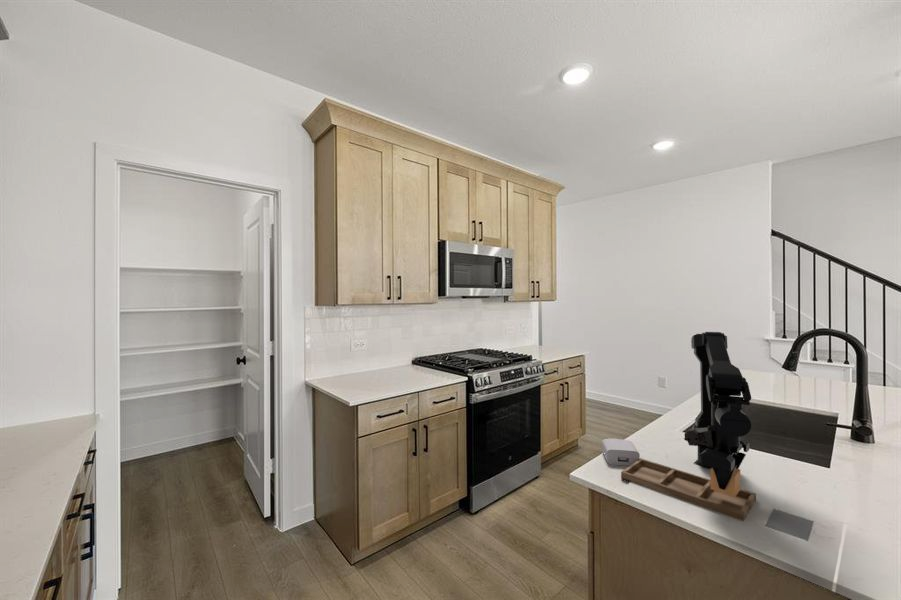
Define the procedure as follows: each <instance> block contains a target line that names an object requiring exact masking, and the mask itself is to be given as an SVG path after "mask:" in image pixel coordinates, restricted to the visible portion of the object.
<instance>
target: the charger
mask: <svg viewBox="0 0 901 600" xmlns="http://www.w3.org/2000/svg"><path fill="white" fill-rule="evenodd" d="M601 450H602V453H603V456H604V458H605V460H606V463H607V464H609V465H615V464H617V465H618V466H628V465H629V466H630V465H632V464H633V463H635V462H636V461H637V460H639V459H640V458H641V457H640V452H639V451H638V449H637V447H636V446H635V444H634V443H633V442H632V441H631V440H629V439H620V438H611V437H610V438H605V439H602V440H601ZM604 453H605V454H604ZM629 466H628V467H629Z"/></svg>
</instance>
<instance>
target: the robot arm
mask: <svg viewBox="0 0 901 600" xmlns="http://www.w3.org/2000/svg"><path fill="white" fill-rule="evenodd" d="M690 341H691V342H690V343H691V344H690V345H691V349H693V354H694V356H695V358H696V359H697V360H698V362H699V365H700V366H699V367H700V368H699V370H700V371H699V373H700V412H699V413H698V414H697V416H696V417H695V419H694V424H692V425H693V426H692V428H689V429H687V430H686V431H684V437H683V439H684V441H686V442H687V443H688V446H693V447H694V446H695V447H697V459H696V460H695V461H694V462H693V465H696V466H699V467H702V468H706V469H709V470H710V469H711V468H713V470H714V473H715V476H716V479H717V482H718V485H719V488H720V489H723V490H725V489H726V487H727V485H728V483H729V481H730V479H731V477H732V475H733V473H734V471H735V469H740V468H741V467H740V466H741V465H742V463H743V461H744V459H745V458H746V455H747V454H746V453H748V452H749V451H750V442H749V440H748V439H747V438H746V437H744V436H746V435H747V434H749V433H750V432H751V429H752V422H751V420H750V418H749V416H748V415H747V414H746V413H745V412H743V408H742V407H743V406H750V405H751V404H750V401H751V400H752V395H751V394H752V393H751V391H750V386H749V383H748V382H747V379H746V377H745V376H744V377H743V373H742V372H741V370H740V368H739V367H737V366H735V365H734V364H732V361H731V358H730V355H729V353H728V350H727V349H728V347H729V346H728V336H727V335H725V334H724V332H720V331H705V332H702V333H695V334H694V335H692V336H691V340H690ZM742 405H743V406H742ZM741 450H743V452H740V451H741ZM744 452H745V453H744Z"/></svg>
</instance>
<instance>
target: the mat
mask: <svg viewBox="0 0 901 600" xmlns="http://www.w3.org/2000/svg"><path fill="white" fill-rule="evenodd" d="M814 522H815V521H814V520H811V519H808V518H805V517H802V516H798V515H796V514H792V513H789V512H786V511H784V510H780V509H776V508H773V509H772V511H771V513H770V515H769V516H768V519H767V520H766V523H765V524H764V527H766V528H767V527H768V528H771V529H773V530H777V531H779V532H781V533H784V534H787V535H790V536H792V537H796V538H799V539H802V540H804V541H806V542H808V541H809V539H810V535H811V533H812V532H811V531H812V529H813V527H814V526H813V525H814Z"/></svg>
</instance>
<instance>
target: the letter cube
mask: <svg viewBox="0 0 901 600" xmlns="http://www.w3.org/2000/svg"><path fill="white" fill-rule="evenodd" d="M709 472H710V478H709V479H710V489H711V490H715V491H718V492H721V493H724V494H727V495H730V496H733V497H736V495H737V494H738V492H739V491H740V489H741V469H740V468H738V469H735V471H734V473H733V475H732V477H731V479H730V481H729V483H728V485H727V487H726V489H725V490H723V489H720V488H719V485H718V482H717V479H716V476H715V473H714V470H713V468H711V469H709Z"/></svg>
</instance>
